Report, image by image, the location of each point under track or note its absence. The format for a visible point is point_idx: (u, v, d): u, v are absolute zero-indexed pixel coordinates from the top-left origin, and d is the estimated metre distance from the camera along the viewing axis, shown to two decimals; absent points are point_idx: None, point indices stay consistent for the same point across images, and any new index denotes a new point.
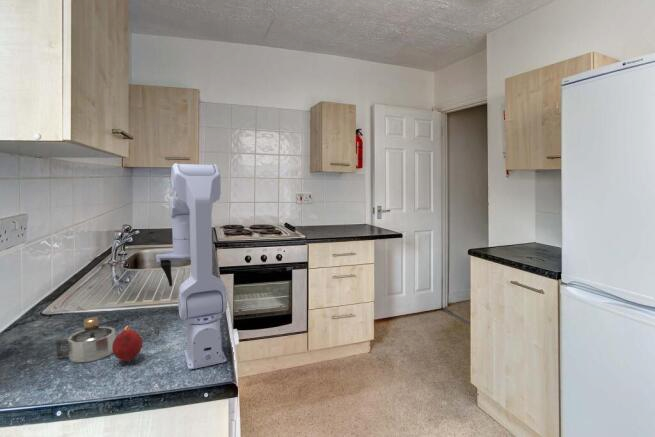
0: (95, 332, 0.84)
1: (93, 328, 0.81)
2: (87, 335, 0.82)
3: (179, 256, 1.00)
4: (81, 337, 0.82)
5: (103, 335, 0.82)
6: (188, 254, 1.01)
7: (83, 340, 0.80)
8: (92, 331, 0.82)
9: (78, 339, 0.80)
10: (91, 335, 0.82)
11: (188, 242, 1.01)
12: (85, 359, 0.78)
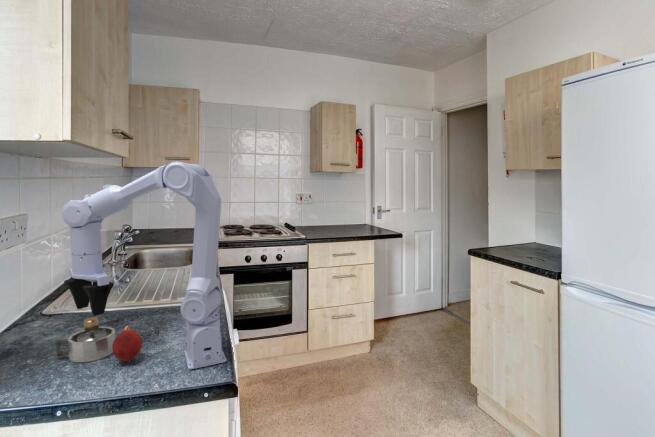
0: (95, 332, 0.84)
1: (93, 328, 0.81)
2: (87, 335, 0.82)
3: (71, 275, 0.79)
4: (81, 337, 0.82)
5: (103, 335, 0.82)
6: (77, 274, 0.78)
7: (83, 340, 0.80)
8: (92, 331, 0.82)
9: (78, 339, 0.80)
10: (91, 335, 0.82)
11: (77, 259, 0.78)
12: (85, 359, 0.78)
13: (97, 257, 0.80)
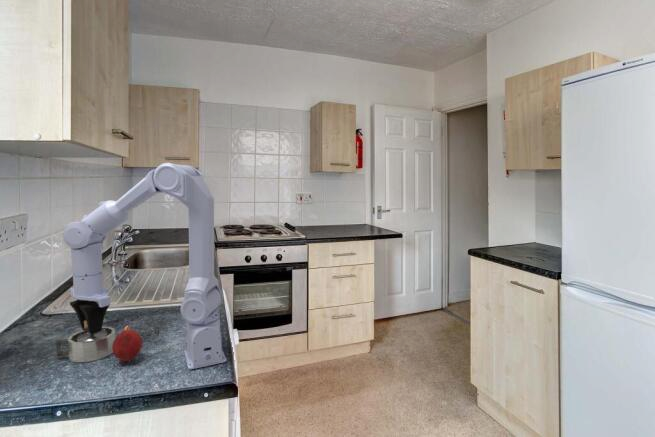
0: None
1: None
2: (87, 335, 0.82)
3: (73, 295, 0.80)
4: (81, 337, 0.82)
5: (103, 335, 0.82)
6: (79, 295, 0.78)
7: (83, 340, 0.80)
8: None
9: (78, 339, 0.80)
10: (91, 335, 0.82)
11: (79, 280, 0.78)
12: (85, 359, 0.78)
13: (98, 278, 0.80)
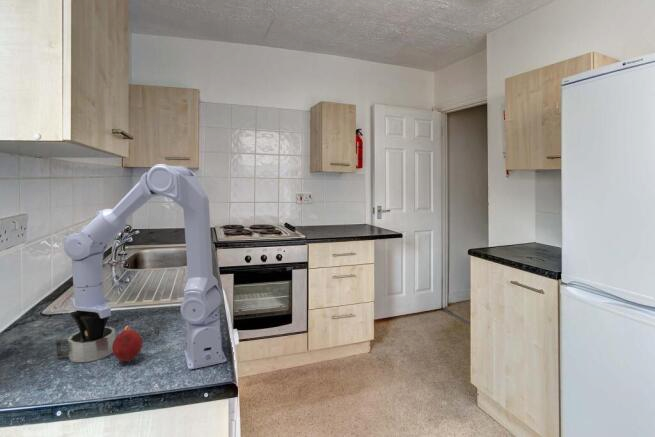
0: None
1: None
2: None
3: (74, 306, 0.80)
4: None
5: None
6: (79, 306, 0.79)
7: None
8: None
9: None
10: None
11: (79, 291, 0.78)
12: (85, 359, 0.78)
13: (99, 288, 0.81)
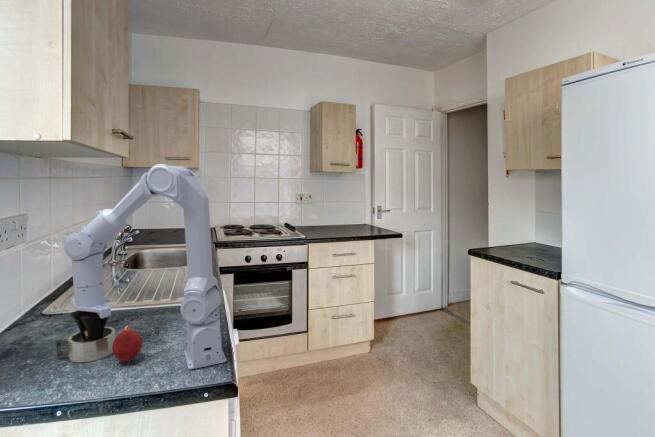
0: None
1: None
2: None
3: (74, 306, 0.80)
4: None
5: None
6: (79, 306, 0.79)
7: None
8: None
9: None
10: None
11: (79, 291, 0.78)
12: (85, 359, 0.78)
13: (99, 288, 0.81)
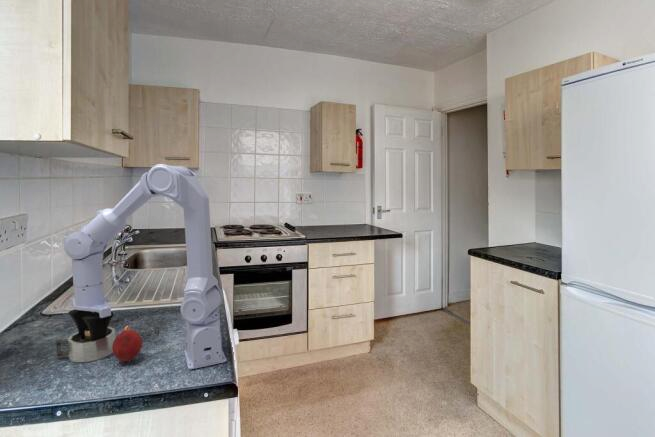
0: None
1: None
2: None
3: (74, 306, 0.80)
4: None
5: None
6: (79, 306, 0.79)
7: None
8: None
9: None
10: None
11: (79, 291, 0.78)
12: (85, 359, 0.78)
13: (99, 288, 0.81)
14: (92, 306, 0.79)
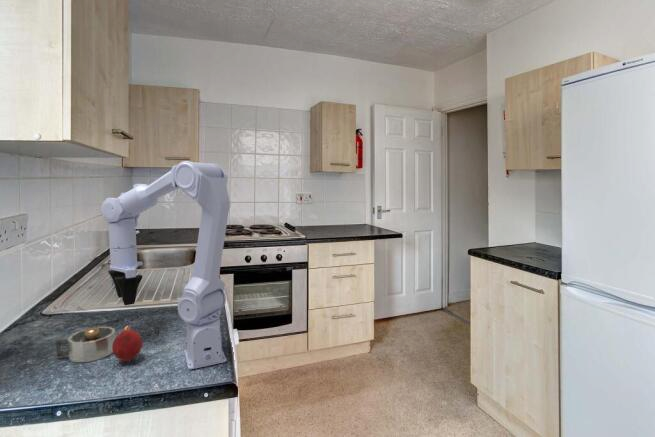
0: None
1: (94, 338, 0.81)
2: None
3: None
4: None
5: None
6: (112, 266, 0.85)
7: None
8: None
9: None
10: None
11: (112, 252, 0.84)
12: (85, 359, 0.78)
13: (130, 251, 0.86)
14: (123, 267, 0.85)
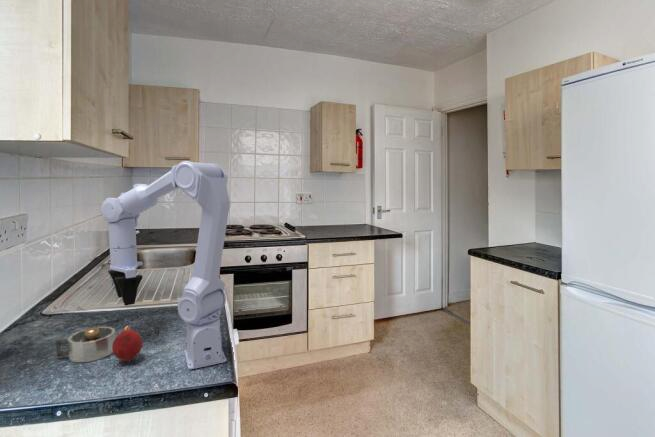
0: None
1: (94, 338, 0.81)
2: None
3: None
4: None
5: None
6: (112, 266, 0.85)
7: None
8: None
9: None
10: None
11: (112, 252, 0.84)
12: (85, 359, 0.78)
13: (130, 251, 0.86)
14: (123, 267, 0.85)
